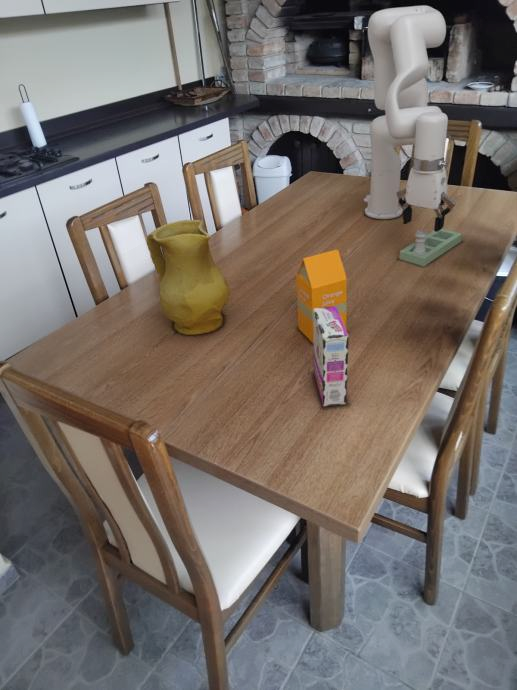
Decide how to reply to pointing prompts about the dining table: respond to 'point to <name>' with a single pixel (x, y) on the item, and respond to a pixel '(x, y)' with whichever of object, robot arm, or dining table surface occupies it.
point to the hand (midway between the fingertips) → (422, 226)
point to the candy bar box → (330, 355)
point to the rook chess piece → (420, 242)
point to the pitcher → (188, 277)
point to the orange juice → (320, 288)
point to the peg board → (431, 247)
